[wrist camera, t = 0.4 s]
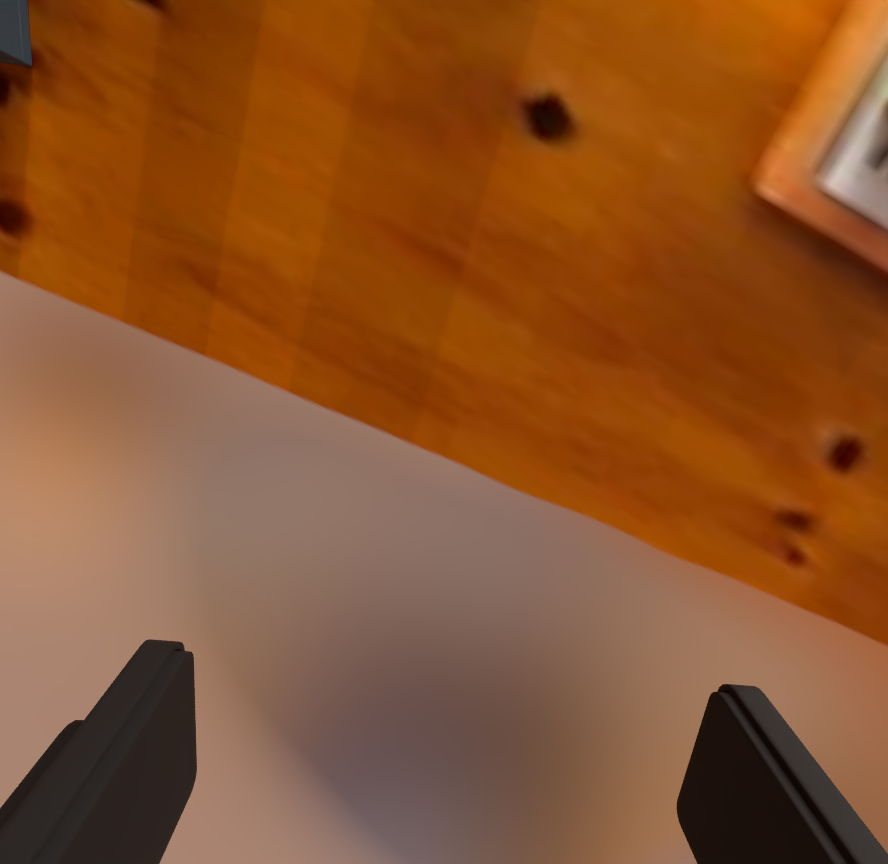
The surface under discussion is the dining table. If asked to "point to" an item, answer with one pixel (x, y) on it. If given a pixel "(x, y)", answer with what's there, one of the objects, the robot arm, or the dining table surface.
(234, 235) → the dining table surface
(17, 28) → the chest
